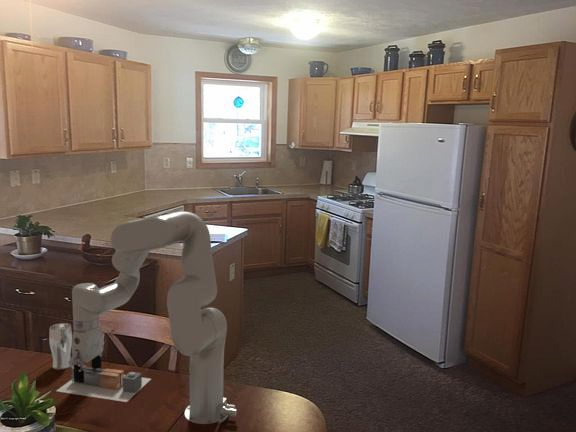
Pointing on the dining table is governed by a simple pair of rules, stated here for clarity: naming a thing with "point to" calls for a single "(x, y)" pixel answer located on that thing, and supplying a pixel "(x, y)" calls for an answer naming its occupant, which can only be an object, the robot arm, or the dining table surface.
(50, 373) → the dining table surface
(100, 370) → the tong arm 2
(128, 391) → the white board with blocks
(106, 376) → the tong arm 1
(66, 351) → the beer glass
